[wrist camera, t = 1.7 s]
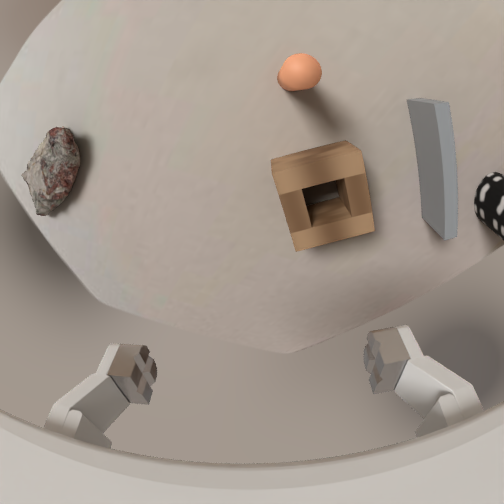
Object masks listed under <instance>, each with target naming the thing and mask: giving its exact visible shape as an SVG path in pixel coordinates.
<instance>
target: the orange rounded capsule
mask: <svg viewBox="0 0 504 504" xmlns="http://www.w3.org/2000/svg"><path fill="white" fill-rule="evenodd" d="M321 75H322V71H321V67H320V64H319V63H318V61H317V60H316V59H315V58H313V57H312V56H310V55H307V54H302V53H300V54H294V55H292V56H290V57H289V58H288V59H287V60H286V61H285V62H284V64H283V66H282V67H281V69H280V71H279V73H278V76H277V80H278V83H279V85H280V86H281V87H282V88H283V89H285V90H288V91H296V90H304V89H309V88H312V87H314V86H315V85H316V84H317V83H318V82H319V81H320V79H321Z"/></svg>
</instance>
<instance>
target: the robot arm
mask: <svg viewBox="0 0 504 504" xmlns="http://www.w3.org/2000/svg"><path fill="white" fill-rule="evenodd" d="M367 340H368V344H367V345H366V346H365V349H364V364H365V368H366V371H368V372H369V373H370V374H371V376H370V379H369V381H370V384H371V388H372V391H373V394H376V393H382V392H387V391H392V390H394V392H396V393H397V394H398V395H399V396H400V397H401V398H402V399H403V400H404V401H405V402H406V403H407V404H408V405H409V406H411V407H412V408H413V409H414V410H415V411H416V412H417V413H418V414H419V415H420V416H421V417H422V418H423V419H424V420H423V422H422V423H421V424H420V425H419V427H418V428H417V429H416V431H415V433H416V438H413V439H410V440H407V441H403V442H400V443H396V444H393V445H389V446H384V447H381V448H377V449H372V450H368V451H363V452H358V453H352V454H348V455H341V456H335V457H329V458H323V459H314V460H305V461H294V462H281V463H257V464H230V463H206V462H193V461H182V460H172V459H165V458H158V457H151V456H146V455H139V454H134V453H129V452H124V451H120V450H115V449H111V445H112V442H111V441H110V440H109V439H108V438H107V437H106V436H105V435H104V434H103V433H104V432H105V431H106V430H107V428H108V427H109V426H110V425H111V424H112V423H113V422H114V421H115V420H116V419H117V418H118V417H119V415H120V414H121V413H122V412H123V411H124V410H125V409H126V408H127V407H128V406H129V405H130V403H136V404H149V402H150V399H151V395H152V392H153V391H152V389H151V385H152V384H153V383H154V382H155V381H156V377H157V367H156V363H155V361H154V359H152V358H151V357H150V356H149V353H150V351H149V349H148V348H147V346H145V345H131V344H116V343H111V344H110V345H109V346H108V348H107V350H106V352H105V354H104V356H103V359H102V361H101V363H100V365H99V367H98V370H97V372H96V374H92V375H90V376H89V377H88V378H86V379H85V380H84V381H82V382H81V383H80V384H78V385H77V386H76V387H75V388H73V389H72V390H71V391H69V392H68V393H67V394H66V395H64V396H63V397H62V398H60V399H59V400H58V401H57V402H55V403H54V405H53V407H52V409H51V411H50V414H49V416H48V418H47V420H46V423H45V425H44V428H42V427H40V426H37V425H35V424H32V423H30V422H27V421H25V420H23V419H20V418H18V417H16V416H14V415H12V414H9V413H7V412H5V411H3V410H1V409H0V504H504V401H503V402H501V403H499V404H497V405H495V406H493V407H491V408H489V409H487V410H485V411H484V409H483V407H482V405H481V403H480V401H479V399H478V396H477V394H476V392H475V390H474V388H473V386H472V384H470V383H469V382H467V381H466V380H464V379H463V378H461V377H460V376H458V375H457V374H455V373H453V372H452V371H451V370H449V369H447V368H446V367H444V366H443V365H441V364H440V363H438V362H437V361H435V360H434V359H432V358H430V357H429V356H428V355H427V356H424V355H423V353H422V351H421V349H420V347H419V345H418V343H417V341H416V339H415V337H414V335H413V333H412V331H411V329H410V327H409V326H408V325H403V326H397V327H391V328H385V329H380V330H374V331H370V332H369V333H368V337H367Z"/></svg>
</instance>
